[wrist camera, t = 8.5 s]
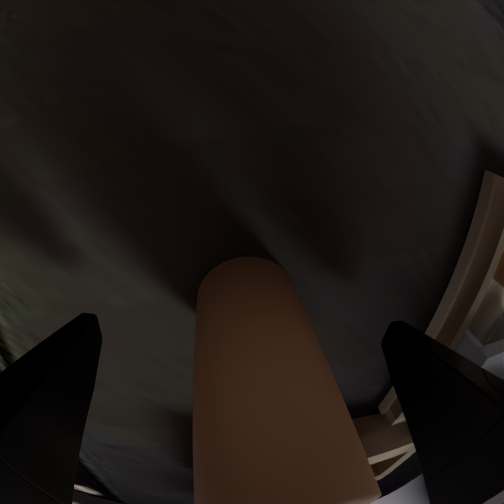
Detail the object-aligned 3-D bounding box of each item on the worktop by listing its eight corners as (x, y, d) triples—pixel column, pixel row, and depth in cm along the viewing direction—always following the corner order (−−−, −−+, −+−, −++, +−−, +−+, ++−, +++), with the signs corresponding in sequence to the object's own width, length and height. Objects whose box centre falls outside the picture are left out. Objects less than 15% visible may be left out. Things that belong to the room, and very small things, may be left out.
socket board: (416, 402, 15) (434, 433, 13) (370, 452, 19) (381, 478, 16) (208, 431, 13) (211, 479, 10) (207, 474, 16) (210, 507, 14)
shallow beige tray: (543, 204, 9) (565, 217, 8) (456, 382, 15) (469, 400, 14) (485, 169, 8) (520, 183, 6) (377, 406, 14) (389, 431, 12)
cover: (504, 316, 11) (546, 360, 7) (460, 385, 14) (489, 429, 10) (458, 325, 11) (510, 387, 7) (407, 403, 13) (437, 460, 9)
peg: (302, 259, 9) (416, 473, 3) (283, 336, 10) (340, 518, 4) (198, 253, 8) (191, 516, 2) (196, 334, 10) (199, 536, 3)
